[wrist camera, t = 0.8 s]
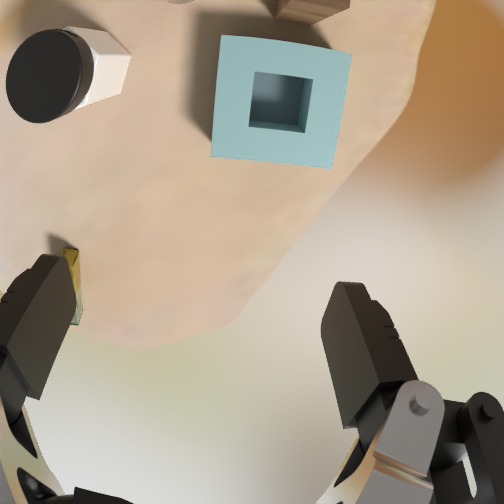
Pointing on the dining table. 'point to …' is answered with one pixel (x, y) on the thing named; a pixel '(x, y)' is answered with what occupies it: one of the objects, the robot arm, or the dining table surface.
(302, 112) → the socket block
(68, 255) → the medication box
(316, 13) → the square peg
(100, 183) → the dining table surface
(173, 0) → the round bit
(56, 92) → the jar
